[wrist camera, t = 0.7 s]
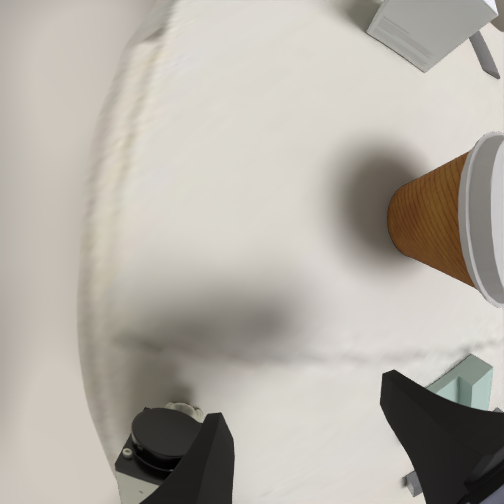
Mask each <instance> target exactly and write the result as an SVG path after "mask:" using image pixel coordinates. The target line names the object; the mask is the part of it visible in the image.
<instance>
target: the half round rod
mask: <svg viewBox="0 0 504 504" xmlns="http://www.w3.org/2000/svg"><path fill="white" fill-rule="evenodd" d="M469 39H470V41H471V43H472V46H473V48H474V50H475V52H476V55H477V57H478V59H479V62H480V64H481V67H482V69H483V70H484V71H486V72H487V73H489V74H491V75H492V76H494V77H496V78H497V79H500V75H499V73H498V70H497V68H496V65H495V63H494V61H493V58H492V56H491V54H490V52H489V49H488V47H487V45H486V43H485V41H484V39H483V37H482V35H481V33H480V31H479V30H478V31H477V32H476V33H474V34H473V35H472V36H471V37H469Z"/></svg>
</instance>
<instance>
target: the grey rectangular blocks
mask: <svg viewBox="0 0 504 504" xmlns="http://www.w3.org/2000/svg"><path fill="white" fill-rule="evenodd" d="M493 412H503V411H502V410H500V409H499V408H498V407H497V408H496V409H495V410H494V411H493ZM406 481H407V487H408V489H409V491H410V492H411V494H412V496H413V497H415V496H417V495H419V494H420V493H422V492H423V491H422V488H421V485H420V482H419V480H418V477H417V474H416V472H415V471H413V472H412V473H410V474H408V475H407V476H406Z"/></svg>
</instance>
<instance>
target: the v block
mask: <svg viewBox="0 0 504 504" xmlns="http://www.w3.org/2000/svg"><path fill="white" fill-rule="evenodd" d="M492 376H493V366H491V365H489V364H488V363H486V362H484V361H483V360H481V359H479V358H478V357H476V356H474V355H473V354H471V355H469V356H468V357H467V358H466V359H465V360H463V361H462V362H461V363H460V364H458V365H457V366H456V367H455V368H453V369H452V370H451V371H449V372H448V373H447V374H445V375H444V376H443V377H441V378H440V379H438V380H437V381H436V382H434V383H433V384H431V385H430V386H428V387H427V388H426V389H428V390H430V391H431V392H433V393H435V394H437V395H439V396H441V397H444V398H446V399H448V400H451V401H453V402H456V403H459V404H462V405H465V406H468V407H472V408H476V409H481V410H488V407H489V401H490V394H491V386H492Z"/></svg>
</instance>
